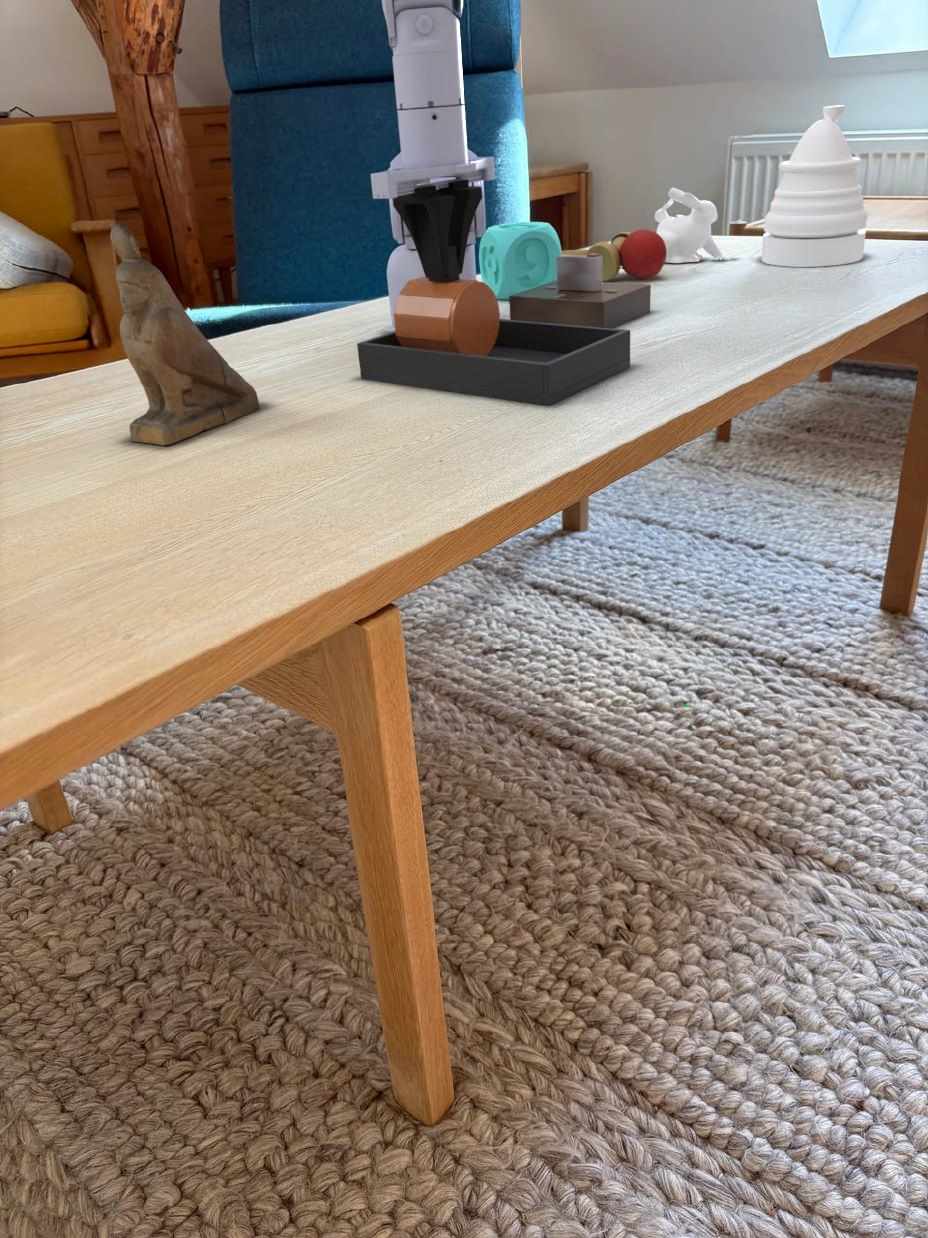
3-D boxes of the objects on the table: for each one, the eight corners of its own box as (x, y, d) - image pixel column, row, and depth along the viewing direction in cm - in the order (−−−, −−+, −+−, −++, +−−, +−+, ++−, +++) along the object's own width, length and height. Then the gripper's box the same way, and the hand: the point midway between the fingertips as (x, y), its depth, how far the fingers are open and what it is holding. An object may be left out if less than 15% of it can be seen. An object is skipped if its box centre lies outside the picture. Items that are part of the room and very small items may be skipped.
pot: (456, 369, 88) (398, 362, 92) (501, 351, 93) (444, 345, 97) (447, 252, 84) (386, 250, 87) (495, 240, 88) (436, 238, 92)
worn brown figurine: (176, 475, 79) (82, 252, 68) (132, 465, 82) (35, 249, 70) (273, 405, 86) (202, 192, 74) (229, 398, 88) (155, 192, 77)
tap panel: (510, 323, 109) (508, 294, 107) (559, 305, 115) (558, 277, 114) (603, 331, 102) (603, 300, 100) (650, 312, 108) (651, 282, 107)
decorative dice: (537, 285, 128) (534, 219, 124) (563, 293, 122) (562, 225, 118) (480, 293, 126) (476, 226, 122) (504, 302, 119) (500, 232, 116)
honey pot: (797, 248, 139) (809, 105, 130) (882, 254, 130) (900, 101, 121) (741, 262, 132) (750, 112, 124) (827, 269, 123) (842, 108, 115)
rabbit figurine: (734, 258, 135) (738, 182, 130) (707, 268, 130) (711, 189, 125) (657, 255, 142) (659, 183, 138) (630, 264, 137) (630, 189, 133)
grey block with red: (557, 289, 108) (556, 253, 106) (564, 287, 109) (563, 251, 107) (596, 291, 105) (595, 255, 103) (602, 289, 106) (602, 253, 104)
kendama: (531, 289, 133) (646, 276, 121) (529, 239, 131) (646, 221, 120) (564, 289, 138) (678, 276, 127) (562, 241, 137) (677, 224, 125)
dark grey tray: (360, 378, 92) (356, 343, 90) (448, 346, 101) (446, 314, 99) (549, 405, 80) (548, 364, 78) (630, 366, 89) (630, 329, 87)
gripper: (410, 110, 75) (426, 292, 82) (518, 99, 85) (525, 263, 92) (345, 114, 79) (365, 288, 86) (455, 104, 89) (466, 260, 96)
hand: (443, 275), depth 89 cm, fingers closed on pot, 2 cm apart
